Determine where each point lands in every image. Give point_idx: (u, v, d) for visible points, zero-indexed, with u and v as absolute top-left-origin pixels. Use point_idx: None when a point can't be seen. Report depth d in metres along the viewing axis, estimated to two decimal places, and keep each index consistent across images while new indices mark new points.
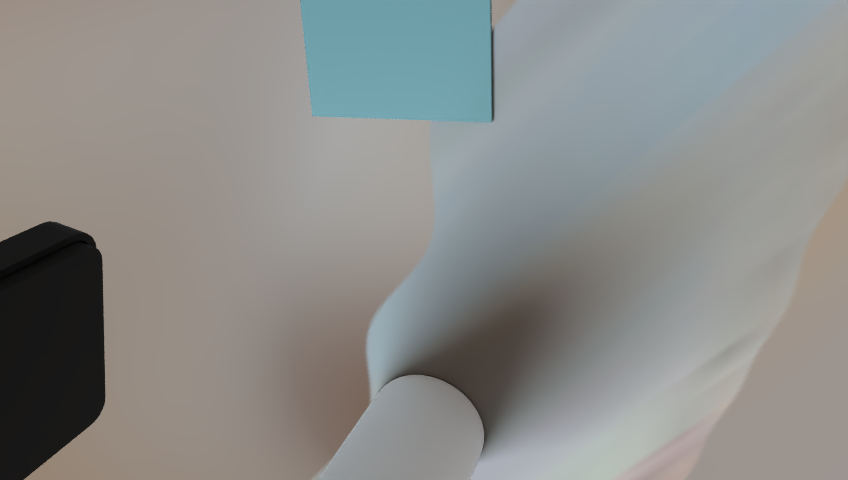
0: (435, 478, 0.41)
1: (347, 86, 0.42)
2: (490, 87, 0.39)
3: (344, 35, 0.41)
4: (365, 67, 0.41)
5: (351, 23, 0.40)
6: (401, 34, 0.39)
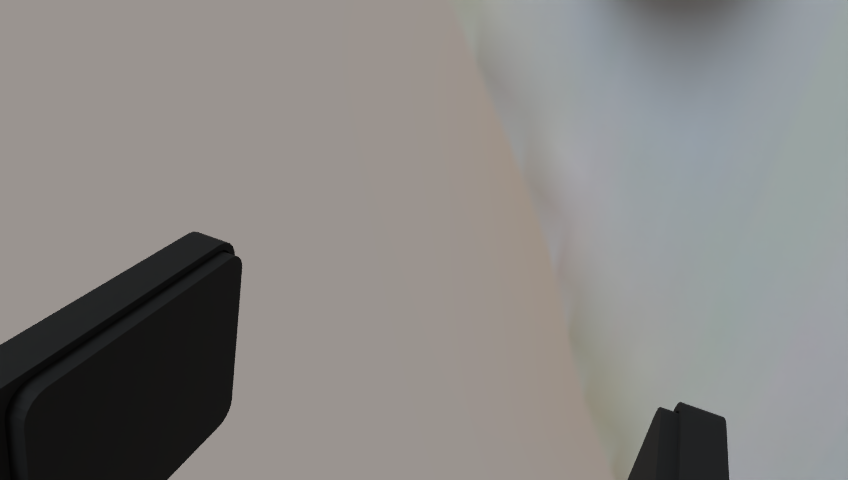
0: None
1: None
2: None
3: None
4: None
5: None
6: None
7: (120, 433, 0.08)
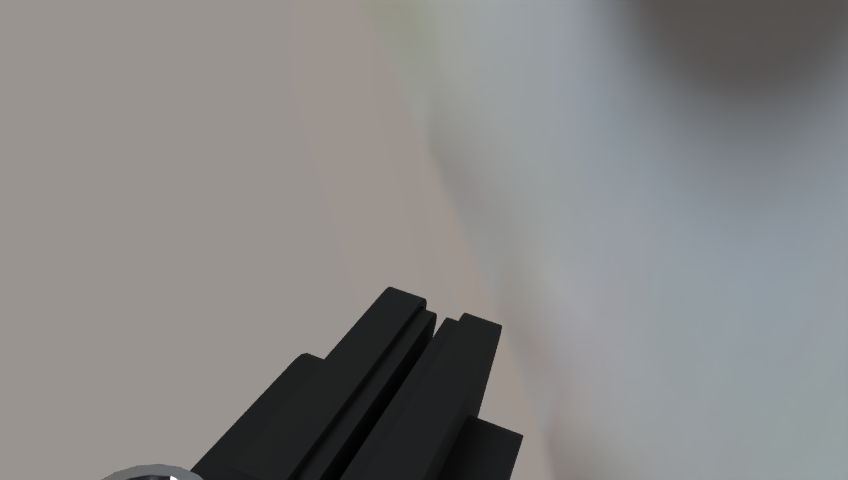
0: None
1: None
2: None
3: None
4: None
5: None
6: None
7: None
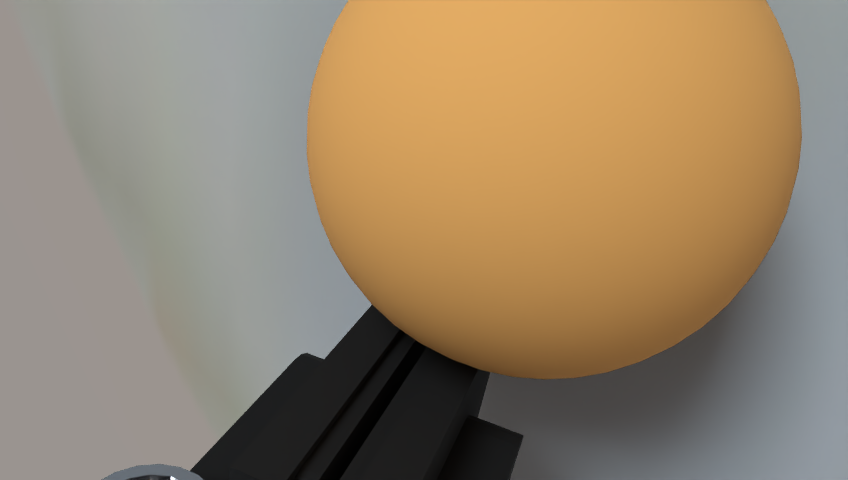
0: None
1: None
2: None
3: None
4: None
5: None
6: None
7: None
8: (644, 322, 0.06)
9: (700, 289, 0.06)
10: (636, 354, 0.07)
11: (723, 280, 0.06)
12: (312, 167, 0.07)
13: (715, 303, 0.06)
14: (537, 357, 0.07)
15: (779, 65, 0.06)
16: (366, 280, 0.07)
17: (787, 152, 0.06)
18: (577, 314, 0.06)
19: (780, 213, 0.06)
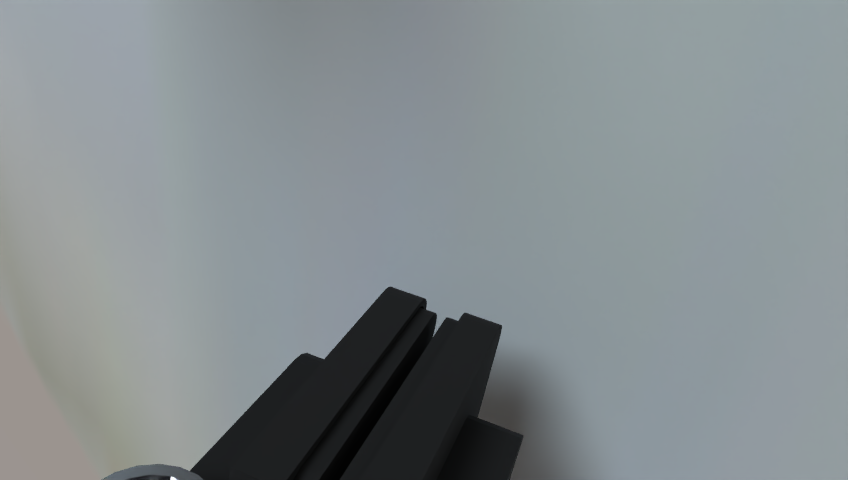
0: None
1: None
2: None
3: None
4: None
5: None
6: None
7: None
8: None
9: None
10: None
11: None
12: None
13: None
14: None
15: None
16: None
17: None
18: None
19: None
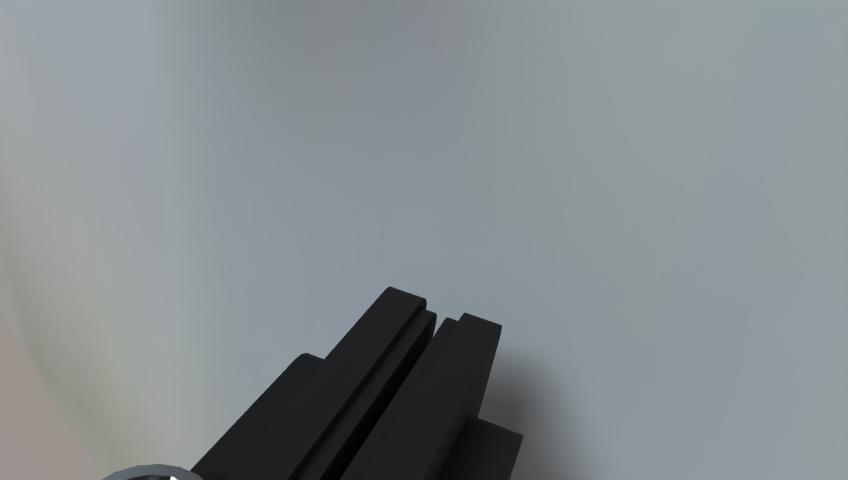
0: None
1: None
2: None
3: None
4: None
5: None
6: None
7: None
8: None
9: None
10: None
11: None
12: None
13: None
14: None
15: None
16: None
17: None
18: None
19: None
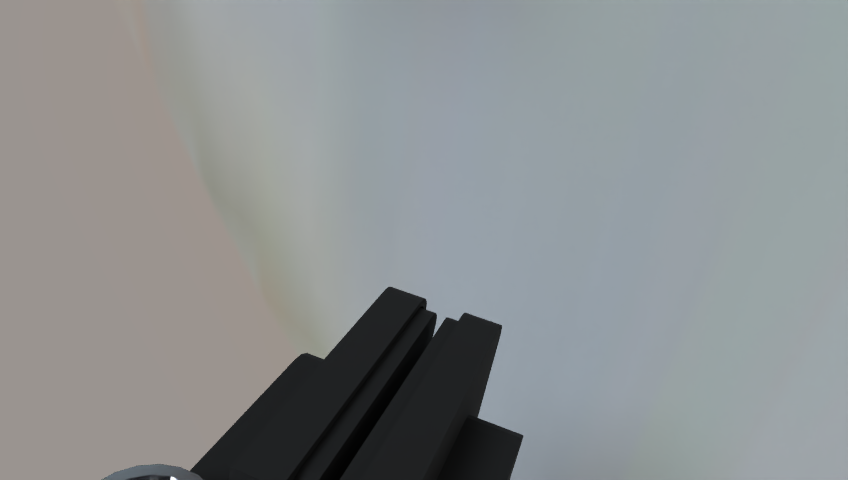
0: None
1: None
2: None
3: None
4: None
5: None
6: None
7: None
8: None
9: None
10: None
11: None
12: None
13: None
14: None
15: None
16: None
17: None
18: None
19: None
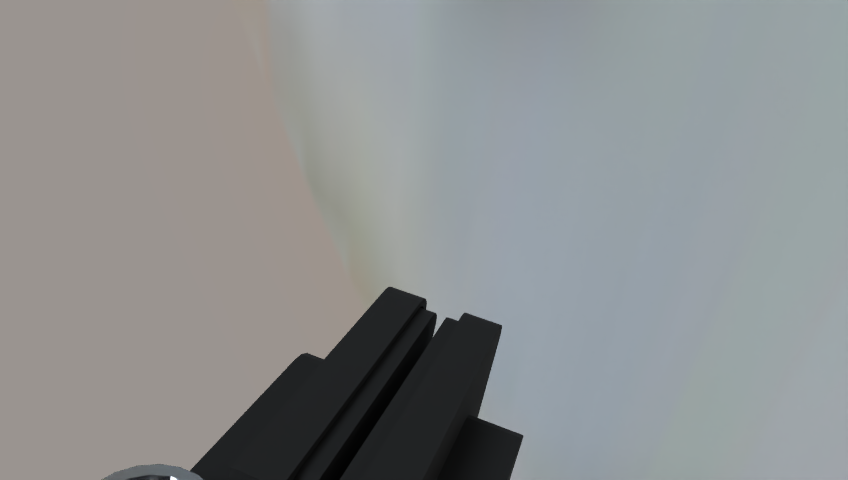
0: None
1: None
2: None
3: None
4: None
5: None
6: None
7: None
8: None
9: None
10: None
11: None
12: None
13: None
14: None
15: None
16: None
17: None
18: None
19: None
